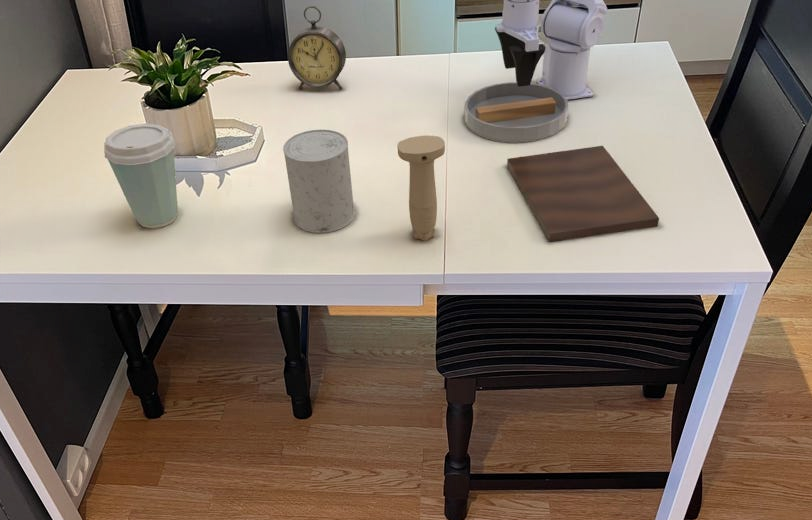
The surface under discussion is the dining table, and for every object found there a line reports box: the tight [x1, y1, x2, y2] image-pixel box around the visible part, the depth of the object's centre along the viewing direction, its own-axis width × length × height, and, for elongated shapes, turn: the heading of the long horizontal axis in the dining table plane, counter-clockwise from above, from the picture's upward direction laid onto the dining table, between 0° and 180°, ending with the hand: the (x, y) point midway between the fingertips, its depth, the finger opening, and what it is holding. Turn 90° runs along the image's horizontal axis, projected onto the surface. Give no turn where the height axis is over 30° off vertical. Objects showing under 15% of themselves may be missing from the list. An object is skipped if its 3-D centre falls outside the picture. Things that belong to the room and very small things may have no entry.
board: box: [506, 145, 660, 243], centre depth 121 cm, size 22×16×2 cm
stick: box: [476, 97, 556, 123], centre depth 141 cm, size 2×14×2 cm, turn 97°
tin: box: [464, 81, 569, 144], centre depth 141 cm, size 18×18×3 cm
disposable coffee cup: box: [103, 123, 179, 229], centre depth 122 cm, size 11×11×15 cm
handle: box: [397, 135, 446, 242], centre depth 112 cm, size 5×6×15 cm
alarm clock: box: [287, 5, 347, 90], centre depth 154 cm, size 11×5×16 cm, turn 77°
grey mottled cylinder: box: [282, 129, 356, 234], centre depth 119 cm, size 10×10×12 cm
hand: (517, 76), depth 137 cm, fingers open, 7 cm apart
